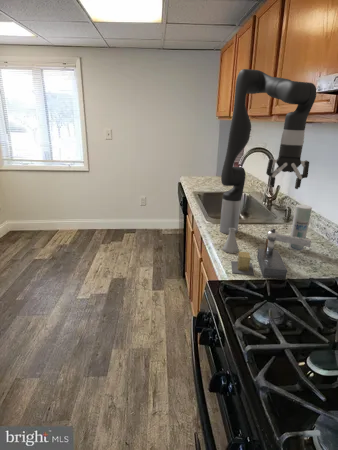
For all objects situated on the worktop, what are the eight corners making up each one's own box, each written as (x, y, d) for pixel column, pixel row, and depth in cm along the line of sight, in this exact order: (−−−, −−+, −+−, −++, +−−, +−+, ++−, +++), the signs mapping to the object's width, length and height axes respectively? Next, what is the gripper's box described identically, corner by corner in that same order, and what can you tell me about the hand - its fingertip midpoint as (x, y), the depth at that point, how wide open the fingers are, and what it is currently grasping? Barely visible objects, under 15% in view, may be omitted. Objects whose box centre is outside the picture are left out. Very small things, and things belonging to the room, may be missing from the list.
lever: (266, 239, 119) (267, 229, 117) (268, 236, 122) (269, 227, 120) (309, 248, 112) (311, 237, 110) (310, 244, 115) (312, 234, 114)
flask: (227, 245, 138) (229, 225, 135) (241, 250, 133) (244, 229, 130) (218, 250, 133) (220, 229, 129) (233, 255, 128) (235, 233, 125)
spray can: (301, 246, 140) (309, 205, 134) (305, 252, 134) (313, 209, 127) (286, 245, 141) (294, 204, 134) (289, 250, 135) (297, 207, 128)
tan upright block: (237, 264, 119) (238, 251, 117) (247, 265, 119) (249, 252, 117) (237, 269, 114) (239, 256, 113) (248, 270, 114) (250, 257, 112)
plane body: (257, 257, 127) (260, 235, 124) (276, 259, 126) (280, 237, 123) (262, 277, 110) (266, 253, 107) (285, 280, 109) (290, 255, 106)
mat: (231, 261, 122) (231, 260, 122) (251, 263, 121) (251, 262, 121) (232, 273, 112) (232, 272, 112) (254, 275, 111) (254, 274, 111)
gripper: (310, 143, 110) (301, 187, 115) (269, 141, 112) (263, 184, 117) (315, 145, 103) (306, 191, 108) (272, 143, 105) (265, 188, 110)
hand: (284, 187), depth 113 cm, fingers open, 8 cm apart
